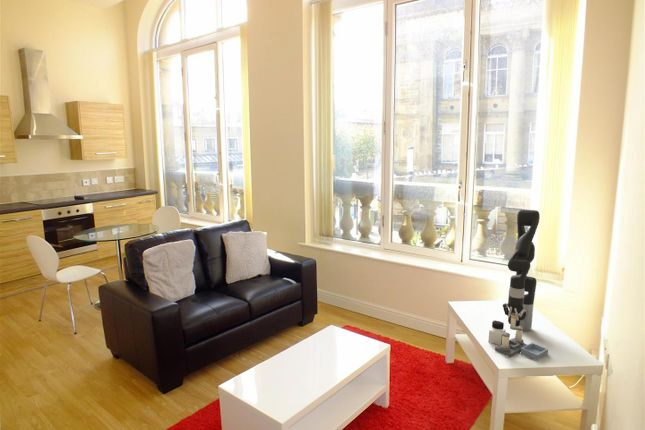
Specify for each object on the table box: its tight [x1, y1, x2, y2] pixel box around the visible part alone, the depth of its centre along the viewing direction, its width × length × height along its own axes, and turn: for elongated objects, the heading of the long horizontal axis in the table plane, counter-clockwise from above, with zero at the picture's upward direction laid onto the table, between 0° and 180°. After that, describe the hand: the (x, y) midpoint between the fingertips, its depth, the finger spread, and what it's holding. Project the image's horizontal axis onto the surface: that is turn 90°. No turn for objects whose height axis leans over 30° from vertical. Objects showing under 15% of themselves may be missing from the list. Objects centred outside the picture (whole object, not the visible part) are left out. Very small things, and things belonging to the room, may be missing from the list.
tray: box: [519, 342, 549, 362], centre depth 221 cm, size 11×9×3 cm
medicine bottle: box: [488, 319, 506, 346], centre depth 234 cm, size 7×7×12 cm
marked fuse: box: [509, 312, 517, 331], centre depth 223 cm, size 4×4×9 cm
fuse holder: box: [494, 326, 528, 358], centre depth 225 cm, size 18×9×11 cm, turn 125°
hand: (513, 324), depth 224 cm, fingers closed on marked fuse, 3 cm apart
